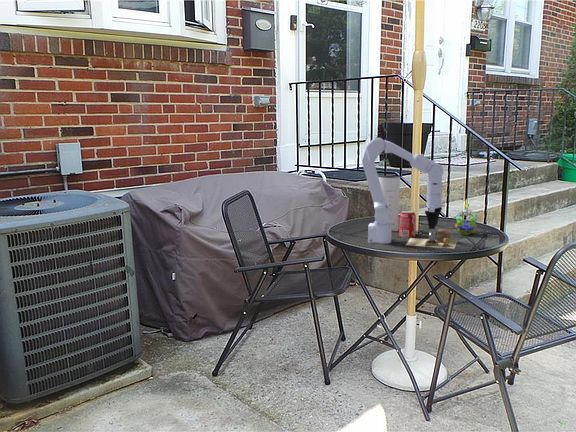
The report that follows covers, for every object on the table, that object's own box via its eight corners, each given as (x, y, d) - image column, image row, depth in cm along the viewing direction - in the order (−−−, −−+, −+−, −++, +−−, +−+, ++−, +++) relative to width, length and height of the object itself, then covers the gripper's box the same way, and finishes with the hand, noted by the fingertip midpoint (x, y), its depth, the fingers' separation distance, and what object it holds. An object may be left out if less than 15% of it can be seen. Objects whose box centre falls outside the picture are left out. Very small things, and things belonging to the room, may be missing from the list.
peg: (428, 245, 209) (428, 232, 208) (429, 243, 211) (429, 231, 210) (434, 245, 208) (434, 233, 207) (435, 244, 210) (435, 232, 209)
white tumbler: (397, 228, 246) (398, 174, 242) (400, 233, 236) (401, 176, 231) (375, 228, 247) (375, 174, 243) (376, 233, 237) (377, 176, 232)
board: (405, 247, 210) (405, 237, 209) (410, 240, 222) (410, 231, 222) (454, 251, 203) (454, 241, 202) (456, 243, 216) (457, 233, 215)
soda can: (412, 236, 230) (413, 209, 228) (417, 240, 223) (418, 212, 221) (397, 236, 230) (397, 210, 228) (401, 240, 223) (401, 213, 221)
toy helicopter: (455, 229, 243) (456, 198, 241) (475, 230, 241) (477, 199, 238) (454, 241, 220) (455, 207, 217) (476, 242, 217) (478, 208, 215)
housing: (437, 242, 213) (437, 231, 213) (438, 239, 218) (438, 229, 217) (449, 243, 212) (450, 232, 211) (450, 240, 216) (451, 229, 215)
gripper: (442, 196, 200) (441, 230, 203) (446, 191, 214) (445, 223, 216) (424, 195, 203) (422, 229, 205) (428, 190, 216) (427, 222, 219)
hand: (433, 226), depth 211 cm, fingers open, 7 cm apart
